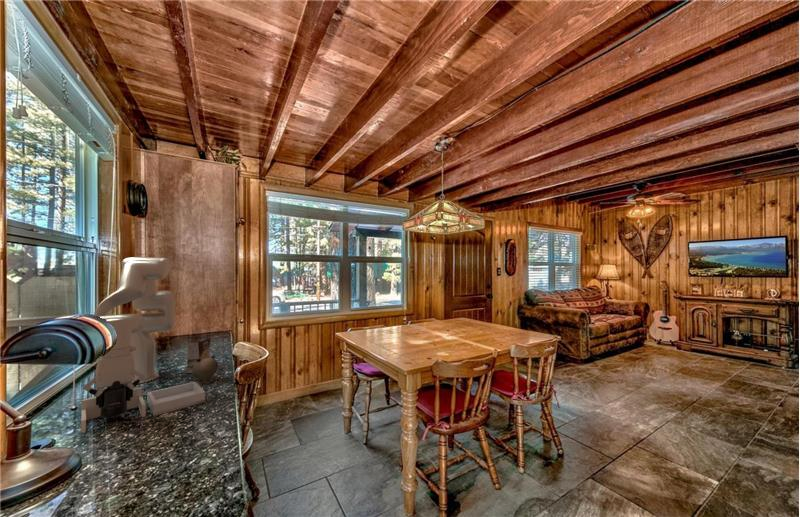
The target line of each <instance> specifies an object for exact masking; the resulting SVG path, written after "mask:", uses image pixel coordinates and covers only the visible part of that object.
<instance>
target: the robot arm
mask: <svg viewBox="0 0 800 517" xmlns="http://www.w3.org/2000/svg"><path fill="white" fill-rule="evenodd" d="M171 266H172V265H171V261H170V259H169V258H168V257H167V258H166V257H155V256H154V257H153V256H152V257H149V256H132V257H126V258H124V259H122V261H121V268H122V269H121V273H120V277H119V280H118V284H117V289H116V291H114V292H112V293H111V294H109V295H108V296H106V297H105V298H104V299H102V301H101V302H100V303H99V304H98V305H97V306H96V308H95V311H94V313H93V316H94V315H95V316H98V317H100V318H102V319H105V320H106V321H107V322H109V323H110V324H111V325H112V326H113V327H114V329H115V331H116V334H117V341H116V344H115V345H114V347H113V348H112V349H111V350H110V351H109V352H108V353H107V354H106V355H105V356H103V357H102V356H101V357H102V358H101V357H99V358H100V359H99V358H98V360H97V362H96V369H95V376H94V377H93V378H92V379H91V380H89V381H88V382H87V383H85V384H84V385H83V386H82V389H83V390H84V391H86V392H87V393H89V394H91V395H93V396H94V397H96V405H99V408H101V407H102V391H103V390H104V389H105V388H107V387H109V386H112V384H113V383H114V381H120V384H124V385H127V386H128V398H127V400H128V401H130V398H131V397H133V389H135V387H137V385H138V384H143V383H144V382H145V383H148V381H149V382H151V380H152V381H154V379H155V380H157V379H158V378H159V377H160V373H157V372H156V349H157V348H156V347H157V340H156V339H155V337H153V336H152V333H153V334H154V333H161V332H162V333H163V332H170V331H172V330H173V329H174V327H175V318H176V317H175V315H176V314H175V312H176V311H175V310H176V309H175V307H176V306H175V305H176V302H175V295H174V293H173V291H170V290H156V280H157V281H161V280H164V279H165V278H167V276H168V275H169V274H170V271H171V269H172V268H171ZM130 302H132V308H133V309H134V310H135V311H138V312H142V313H124V314H123V313H120V314H108V313H110V311H112V310H113V309H115V308H117V307H119V306H121V305H125V304H127V303H130ZM151 311H152V312H151ZM155 311H161V312H155ZM143 312H145V313H143ZM156 378H157V379H156ZM145 383H144V384H145ZM93 385H95V387H96V388H97V389H95V388H93V387H92V386H93Z"/></svg>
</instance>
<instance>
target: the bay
mask: <svg viewBox="0 0 800 517" xmlns="http://www.w3.org/2000/svg"><path fill="white" fill-rule="evenodd" d="M142 394H143V388H142V387H136V388H135V387H134V389H133V397H131V398H130V401H128V400H127V410H126V411H128V410H132V409H135V408H139V409H138V410H139V413H140V415H141V417H142V418H144V417H146V414H147V412H146V411H147V404H146V402H145V400H144V398H143V395H142ZM99 416H100V417H101V408H99V405H96V396H94V397H90V398H84V399H82V400H81V416H80V418H81V419H80V434H84V433H86V430H87V429H86V428H87V427H86V426H87V420H93V419H95V418H100V417H99Z"/></svg>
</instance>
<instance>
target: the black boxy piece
mask: <svg viewBox="0 0 800 517" xmlns="http://www.w3.org/2000/svg"><path fill="white" fill-rule="evenodd" d="M128 387H129V386H128V385H127V384H120V381H114V383H113V384H112V386H109V387H106V388H104V389H103V391H102V393H101V394H102V407H101V416H100V417H101V418H104V419H105V418H108V419H109V418H113V417H119V416H121V415H123V414H124V413H126V411H128V410H127V398H128Z"/></svg>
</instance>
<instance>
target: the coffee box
mask: <svg viewBox="0 0 800 517" xmlns="http://www.w3.org/2000/svg"><path fill="white" fill-rule="evenodd" d="M187 343H188V345H187V364H186V365H187V368H186V369H187V370H186V372H187V373H192V368H193V366H194V364H195V363H196V362H197V359H202V358H210V357H211V355H210V354H211V353H210V352H211V338H210V337H205V338H203V337H202V338H196V339H193V340H190V341H188V342H187ZM187 373H186V374H187Z"/></svg>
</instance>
